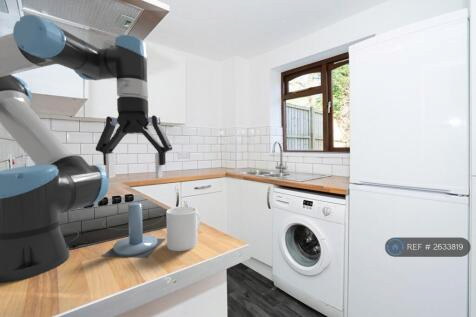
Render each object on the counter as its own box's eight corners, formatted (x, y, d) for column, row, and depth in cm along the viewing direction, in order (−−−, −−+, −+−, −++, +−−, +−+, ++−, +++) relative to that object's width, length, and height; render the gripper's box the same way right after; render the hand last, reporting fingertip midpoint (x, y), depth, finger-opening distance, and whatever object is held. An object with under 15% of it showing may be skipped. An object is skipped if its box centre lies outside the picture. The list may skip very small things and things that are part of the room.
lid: (103, 255, 58) (102, 209, 57) (128, 238, 69) (127, 199, 68) (145, 256, 57) (144, 209, 56) (163, 239, 68) (162, 199, 67)
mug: (189, 234, 73) (189, 202, 73) (210, 239, 69) (210, 205, 69) (160, 249, 63) (159, 212, 62) (183, 255, 59) (183, 216, 58)
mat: (100, 258, 57) (100, 256, 57) (127, 239, 69) (127, 237, 69) (146, 260, 56) (146, 257, 56) (166, 240, 68) (165, 238, 68)
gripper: (78, 96, 58) (81, 179, 59) (173, 93, 56) (174, 179, 57) (98, 102, 66) (100, 175, 67) (182, 100, 64) (184, 175, 65)
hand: (134, 177), depth 62 cm, fingers open, 13 cm apart
